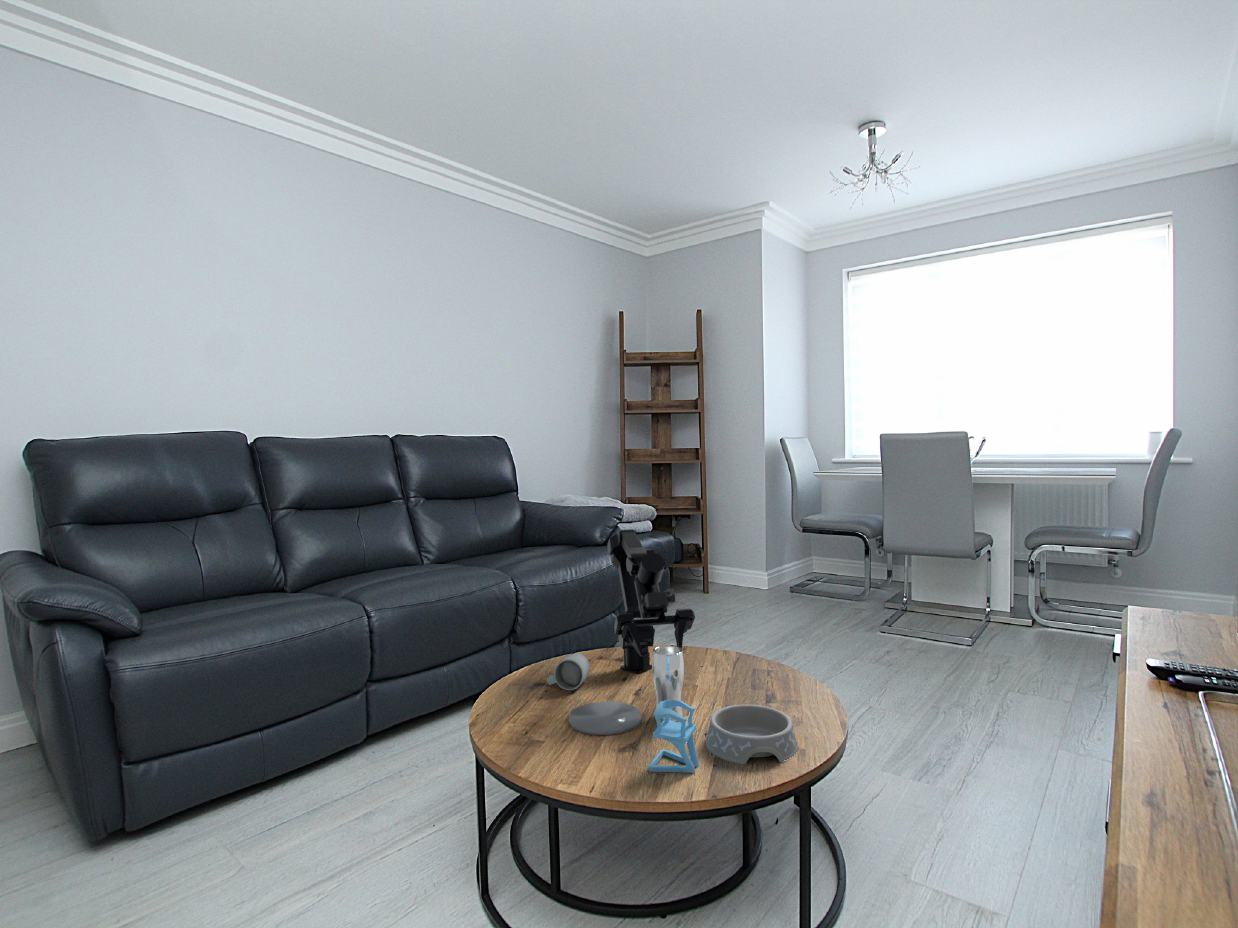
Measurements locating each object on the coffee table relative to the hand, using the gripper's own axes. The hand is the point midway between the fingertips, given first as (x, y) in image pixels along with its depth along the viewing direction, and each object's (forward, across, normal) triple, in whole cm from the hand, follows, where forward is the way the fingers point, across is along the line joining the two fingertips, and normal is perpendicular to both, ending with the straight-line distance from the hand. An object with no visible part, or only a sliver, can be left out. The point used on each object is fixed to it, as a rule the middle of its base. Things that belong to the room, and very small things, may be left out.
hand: (661, 653), depth 157 cm
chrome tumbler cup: (+13, 0, +5) cm, 14 cm away
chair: (+29, -5, -11) cm, 31 cm away
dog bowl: (+25, +12, -7) cm, 29 cm away
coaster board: (+12, -14, +6) cm, 19 cm away
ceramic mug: (-5, -20, +23) cm, 31 cm away
